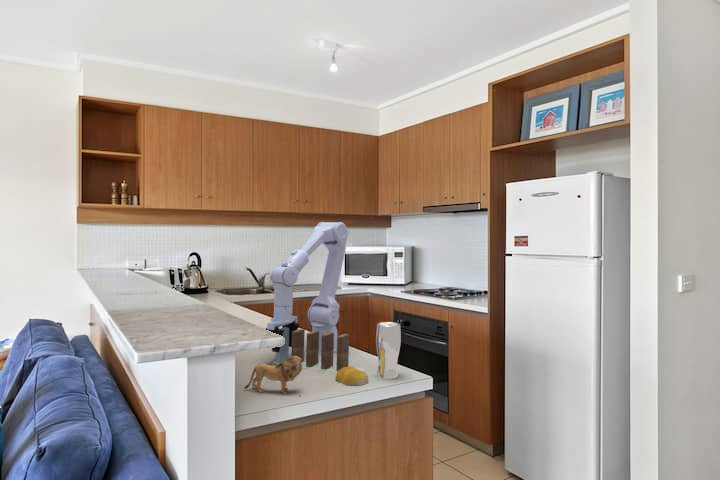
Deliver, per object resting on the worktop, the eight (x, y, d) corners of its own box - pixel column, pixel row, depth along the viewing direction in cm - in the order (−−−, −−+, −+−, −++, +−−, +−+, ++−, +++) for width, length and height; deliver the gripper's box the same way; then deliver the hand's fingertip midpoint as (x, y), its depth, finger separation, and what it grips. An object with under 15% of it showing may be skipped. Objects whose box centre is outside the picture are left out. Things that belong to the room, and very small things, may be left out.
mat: (283, 358, 157) (283, 357, 157) (365, 370, 146) (365, 368, 146) (271, 364, 150) (271, 363, 150) (356, 376, 140) (356, 375, 140)
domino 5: (336, 371, 143) (337, 336, 143) (343, 366, 148) (344, 333, 148) (341, 371, 143) (342, 337, 142) (348, 367, 147) (349, 334, 147)
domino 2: (291, 364, 149) (292, 331, 149) (299, 360, 154) (300, 328, 153) (295, 365, 148) (296, 332, 148) (303, 361, 153) (304, 329, 153)
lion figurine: (302, 388, 128) (303, 353, 128) (300, 394, 123) (301, 358, 123) (245, 387, 128) (246, 352, 128) (241, 394, 122) (242, 358, 122)
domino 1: (275, 362, 151) (276, 329, 151) (283, 358, 156) (284, 327, 155) (279, 363, 150) (280, 330, 150) (288, 359, 155) (289, 327, 155)
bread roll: (351, 389, 129) (352, 374, 128) (331, 381, 135) (331, 366, 135) (375, 383, 134) (375, 369, 134) (354, 376, 141) (354, 362, 141)
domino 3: (305, 366, 147) (306, 333, 147) (313, 362, 152) (314, 330, 151) (310, 367, 146) (311, 333, 146) (318, 363, 151) (319, 330, 151)
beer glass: (400, 380, 137) (402, 326, 136) (375, 380, 136) (376, 326, 136) (398, 373, 144) (400, 322, 143) (374, 372, 143) (376, 321, 143)
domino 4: (320, 368, 145) (321, 335, 145) (328, 364, 150) (329, 332, 150) (325, 369, 145) (326, 335, 144) (333, 365, 149) (333, 332, 149)
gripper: (284, 301, 161) (283, 342, 161) (259, 307, 147) (258, 352, 148) (303, 303, 158) (302, 345, 158) (279, 309, 145) (278, 355, 145)
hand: (282, 349), depth 153 cm, fingers open, 7 cm apart
